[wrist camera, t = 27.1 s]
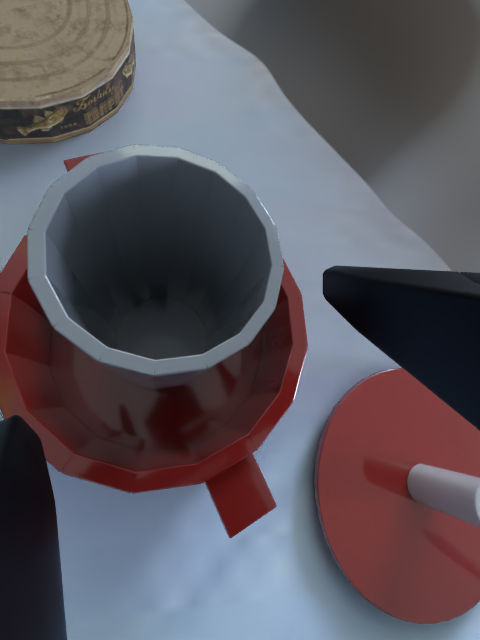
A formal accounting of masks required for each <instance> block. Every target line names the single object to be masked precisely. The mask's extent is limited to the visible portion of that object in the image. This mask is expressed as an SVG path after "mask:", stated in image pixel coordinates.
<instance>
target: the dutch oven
mask: <svg viewBox="0 0 480 640" xmlns="http://www.w3.org/2000/svg"><path fill="white" fill-rule="evenodd" d="M103 153H104V152H103ZM98 154H100V153H98ZM93 155H97V154H93ZM93 155H88V156H83V157H78V158H73V159H68V160H64V164H65V167H66V169H67V172H69V171H70V170H71V169H72V168H74V167H75V166H76V165H78V164H79V163H80V162H82V161H83V160H84V159H85V158H88V157H90V156H93ZM282 258H283V257H282ZM283 263H284V272H283V276H282V281H281V286H280V291H279V295H278V300H277V305H276V308H275V310H274V312H273V313H272V314H271V316H270V317H269V319H268V320H267V321H266V323H265V324H264V325H263V327H262V328H261V330H260V331H259V332H258V334H257V335H256V336H255V338H254V339H253V341H252V342H251V343H250V344H249V345H248V346H247V347H245V348H243V349H242V350H240V351H238V352H237V353H235V354H233V355H232V356H230V357H228V358H227V359H225V360H224V361H222V362H220V363H219V364H217V365H215V366H214V367H212V368H210V369H209V370H207V371H205V372H204V373H202V374H200V375H199V376H197V377H196V378H194V379H192V380H190V381H189V382H187V383H185V384H184V385H182V386H180V387H178V388H173V389H168V390H160V391H156V390H152V389H147V388H144V387H140V386H137V385H135V384H133V383H131V382H130V381H128V380H127V379H125V378H123V377H122V376H120V375H118V374H117V373H115V372H113V371H112V370H110V369H108V368H107V367H105V366H103V365H102V364H100V363H98V362H97V361H95V360H94V359H93V358H91V357H90V356H89V355H88V354H86V353H85V352H84V351H82V350H81V349H80V348H78V347H77V346H76V345H74V344H73V343H72V342H70V341H69V340H68V339H67V338H65V337H64V336H63V335H61V334H60V333H59V332H57V331H56V330H55V329H54V327H52V326H51V324H50V322H49V320H48V318H47V316H46V314H45V312H44V311H43V309H42V307H41V305H40V303H39V301H38V299H37V297H36V295H35V293H34V292H33V290H32V288H31V286H30V284H29V282H28V267H27V235H25V236H24V238H23V239H22V241H21V242H20V244H19V245H18V247H17V248H16V250H15V252H14V253H13V255H12V256H11V258H10V259H9V261H8V263H7V264H6V266H5V267H4V269H3V270H2V272H1V273H0V409H1V412H2V414H3V417H4V420H5V419H7V418H9V417H11V416H13V415H18V416H20V417H22V418H23V419H24V421H25V422H26V423H27V424H28V425H29V426H30V427H31V428H32V429H33V430H34V431H35V432H36V433H37V435H38V436H39V438H40V440H41V442H42V446H43V450H44V454H45V459H46V460H47V461H48V462H49V463H50V464H51V465H52V466H53V467H54V468H55V469H57V470H58V471H59V472H61V473H62V474H65V475H69V476H72V477H76V478H79V479H83V480H86V481H89V482H93V483H96V484H100V485H103V486H107V487H110V488H114V489H117V490H120V491H124V492H127V493H140V492H147V491H154V490H161V489H168V488H175V487H182V486H190V485H197V484H201V483H205V485H206V488H207V490H208V492H209V495H210V497H211V499H212V501H213V504H214V506H215V508H216V510H217V513H218V515H219V517H220V520H221V522H222V524H223V526H224V529H225V531H226V533H227V535H228V537H229V538H232V537H233V536H235V535H236V534H238V533H239V532H241V531H242V530H243V529H245V528H246V527H248V526H249V525H251V524H252V523H254V522H255V521H256V520H258V519H259V518H261V517H262V516H264V515H265V514H267V513H268V512H270V511H271V510H272V509H274V508H275V507H276V503H275V501H274V499H273V496H272V494H271V492H270V490H269V488H268V486H267V483H266V481H265V479H264V477H263V475H262V473H261V471H260V468H259V466H258V464H257V462H256V460H255V458H254V455H253V452H255V451H257V450H258V448H259V447H260V446H261V445H262V443H263V442H264V441H265V439H266V438H267V437H268V435H269V434H270V432H271V431H272V430H273V428H274V427H275V426H276V424H277V423H278V422H279V420H280V419H281V418H282V416H283V415H284V413H285V412H286V411H287V409H288V408H289V407H290V405H291V404H292V403H293V400H294V398H295V394H296V391H297V387H298V383H299V379H300V375H301V371H302V367H303V363H304V360H305V356H306V352H307V347H308V344H307V335H306V327H305V319H304V310H303V302H302V295H301V292H300V290H299V288H298V287H297V285H296V283H295V281H294V279H293V277H292V275H291V273H290V271H289V269H288V267H287V265H286V263H285V261H284V259H283Z"/></svg>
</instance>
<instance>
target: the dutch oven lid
mask: <svg viewBox="0 0 480 640" xmlns="http://www.w3.org/2000/svg"><path fill="white" fill-rule="evenodd" d="M314 486H315V501H316V507H317V513H318V518H319V522H320V525H321V529H322V532H323V535H324V538H325V540H326V543H327V545H328V548H329V550H330V552H331V554H332V556H333V558H334V560H335V562H336V563H337V565H338V567H339V569H340V570H341V571H342V573H343V574H344V575H345V577H346V578H347V580H348V581H349V582H350V583H351V584H352V585H353V586H354V588H355V589H356V590H357V591H358V592H359V593H360V594H361V595H362V596H363V597H364V598H365V599H367V600H368V601H369V602H370V603H372V604H373V605H374V606H375V607H377V608H378V609H380V610H382V611H383V612H385V613H387V614H389V615H390V616H392V617H395V618H398V619H401V620H403V621H407V622H412V623H418V624H435V623H440V622H445V621H449V620H451V619H453V618H456V617H458V616H461V615H462V614H464V613H465V612H467V611H468V610H470V609H471V608H473V607H474V606H475V605H476V604H477V603H478V602H479V601H480V431H479V430H478V429H477V428H476V427H475V426H473V425H472V424H471V423H470V422H468V421H467V420H466V419H465V418H463V417H462V416H461V415H460V414H459V413H457V412H456V411H455V410H454V409H452V408H451V407H450V406H449V405H448V404H446V403H445V402H444V401H443V400H441V399H440V398H439V397H438V396H437V395H435V394H434V393H433V392H432V391H430V390H429V389H428V388H427V387H425V386H424V385H423V384H422V383H421V382H419V381H418V380H417V379H416V378H414V377H413V376H412V375H411V374H410V373H408V372H407V371H406V370H405V369H403V368H398V369H390V370H384V371H381V372H378V373H374V374H372V375H370V376H368V377H366V378H364V379H363V380H361V381H360V382H358V383H357V384H355V385H354V386H353V387H352V388H351V389H350V390H349V391H348V392H347V393H346V394H344V396H343V397H342V398H341V399H340V401H339V402H338V403H337V405H336V406H335V407H334V409H333V411H332V413H331V414H330V416H329V418H328V420H327V422H326V425H325V427H324V429H323V432H322V435H321V438H320V442H319V445H318V450H317V456H316V462H315V476H314Z"/></svg>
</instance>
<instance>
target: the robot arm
mask: <svg viewBox="0 0 480 640" xmlns="http://www.w3.org/2000/svg"><path fill="white" fill-rule="evenodd" d="M323 295H324V297H325V299H326V300H327V301H328V302H329V303H330V304H331V305H332V306H333V307H334V308H335V309H336V310H337V311H338V312H339V313H340V314H341V315H342V316H343V317H344V318H345V319H346V320H347V321H348V322H349V323H350V324H351V325H352V326H353V327H354V328H355V329H356V330H357V331H358V332H359V333H361V334H362V335H363V336H364V337H365V338H367V339H368V340H369V341H370V342H372V343H373V344H374V345H375V346H376V347H378V348H379V349H380V350H381V351H383V352H384V353H385V354H386V355H388V356H389V357H390V358H391V359H392V360H394V361H395V362H396V363H397V364H399V365H400V366H401V367H402V368H403V369H405V370H406V371H407V372H408V373H410V374H411V375H412V376H413V377H414V378H416V379H417V380H418V381H419V382H421V383H422V384H423V385H424V386H425V387H427V388H428V389H429V390H430V391H432V392H433V393H434V394H435V395H437V396H438V397H439V398H440V399H441V400H443V401H444V402H445V403H446V404H448V405H449V406H450V407H451V408H452V409H454V410H455V411H456V412H457V413H459V414H460V415H461V416H462V417H463V418H465V419H466V420H467V421H468V422H470V423H471V424H472V425H473V426H475V427H476V428H477V429H478V430H479V431H480V273H470V272H469V273H468V272H460V273H459V272H450V271H431V270H411V269H391V268H372V267H352V266H333V267H331V268H329V269H327V270H325V271H324V273H323ZM0 640H67V633H66V622H65V610H64V598H63V587H62V575H61V563H60V551H59V540H58V528H57V516H56V507H55V499H54V494H53V490H52V485H51V481H50V476H49V472H48V468H47V463H46V459H45V454H44V450H43V446H42V442H41V440H40V438H39V436H38V435H37V433H36V432H35V431H34V430H33V429H32V428H31V427H30V426H29V425H28V424H27V423H26V422H25V421H24V419H23V418H22V417H20V416H18V415H13V416H11V417H9V418H7V419H5V420H2V421H0Z"/></svg>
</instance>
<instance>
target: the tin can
mask: <svg viewBox="0 0 480 640" xmlns="http://www.w3.org/2000/svg"><path fill="white" fill-rule="evenodd" d="M135 66H136V58H135V44H134V29H133V17H132V13H131V10H130V6H129V3H128V0H0V142H3V143H8V144H23V143H45V142H56V141H60V140H63V139H66V138H69V137H72V136H76V135H79V134H82V133H85V132H88V131H91V130H93V129H94V128H96V127H97V126H98V125H100V124H101V123H103V122H104V121H105V120H107V119H108V118H110V117H111V116H113V115H114V114H115V113H117V112H118V110H119V109H120V107H121V106H122V104H123V103H124V101H125V99H126V98H127V96H128V95H129V93H130V92H131V90H132V87H133V80H134V73H135Z"/></svg>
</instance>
